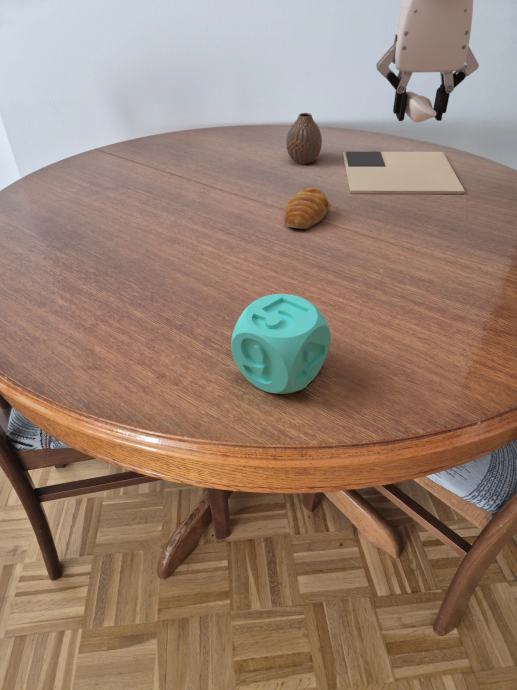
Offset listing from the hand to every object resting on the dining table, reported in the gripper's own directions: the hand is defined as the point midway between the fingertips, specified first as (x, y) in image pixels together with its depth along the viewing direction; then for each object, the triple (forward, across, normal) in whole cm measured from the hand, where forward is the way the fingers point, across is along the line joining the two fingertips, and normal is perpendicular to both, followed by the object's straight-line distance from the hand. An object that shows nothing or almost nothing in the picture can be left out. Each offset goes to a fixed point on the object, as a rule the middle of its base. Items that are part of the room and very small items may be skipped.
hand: (418, 116), depth 84 cm
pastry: (+14, +17, +5) cm, 23 cm away
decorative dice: (+14, +22, +42) cm, 50 cm away
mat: (+14, -1, -12) cm, 19 cm away
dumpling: (+1, 0, 0) cm, 1 cm away
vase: (+14, +16, -19) cm, 29 cm away
